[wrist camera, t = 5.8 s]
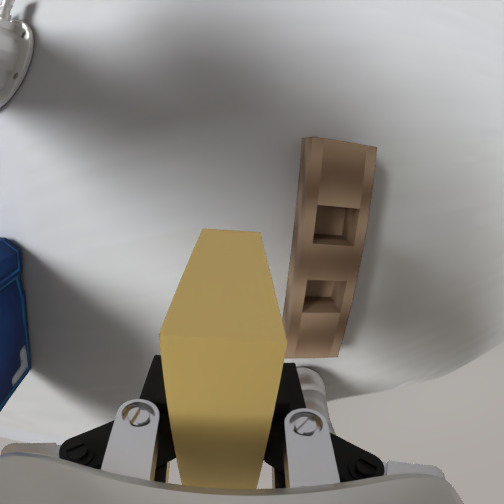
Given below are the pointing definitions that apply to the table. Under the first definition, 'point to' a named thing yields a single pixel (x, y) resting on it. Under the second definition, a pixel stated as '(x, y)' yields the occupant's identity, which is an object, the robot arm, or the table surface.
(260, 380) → the yellow notched flat block
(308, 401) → the plastic bottle
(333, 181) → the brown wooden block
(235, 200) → the table surface
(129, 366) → the table surface
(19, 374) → the book
